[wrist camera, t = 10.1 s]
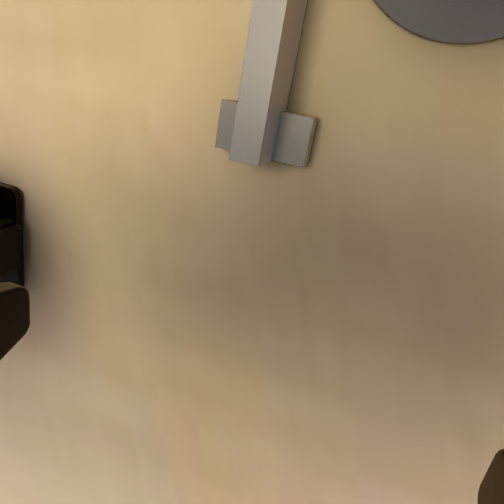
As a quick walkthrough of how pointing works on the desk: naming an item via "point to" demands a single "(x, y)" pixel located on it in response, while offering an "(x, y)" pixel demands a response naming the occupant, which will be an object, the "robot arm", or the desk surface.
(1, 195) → the robot arm
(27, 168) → the desk surface
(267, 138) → the low wall
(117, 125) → the desk surface
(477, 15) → the pad
